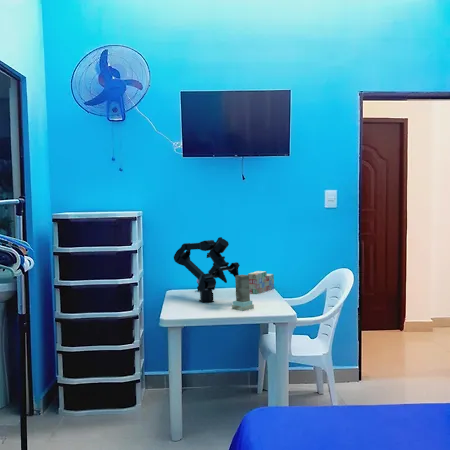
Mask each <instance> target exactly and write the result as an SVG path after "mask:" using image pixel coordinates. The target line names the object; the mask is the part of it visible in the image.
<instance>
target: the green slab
mask: <svg viewBox="0 0 450 450" xmlns="http://www.w3.org/2000/svg"><path fill="white" fill-rule="evenodd" d="M232 303H233V304H232V305H235V306H241V307H245V306H249V305H252V304H253V300H251V299H250V301H245V302H240V301H236V300H233V301H232Z"/></svg>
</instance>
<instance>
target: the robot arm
mask: <svg viewBox="0 0 450 450" xmlns="http://www.w3.org/2000/svg"><path fill="white" fill-rule="evenodd" d="M229 244H230V243H229V242H228V240H226V239H225V238H223V237H217V240H216V241H215V240H214V239H207V240H202V241H199V242H192V243H191V242H186V243H183V244H182V245H181V246H180V247H179V248H178V249H177V250H176V251H175V253H174V255H173V260H174V263H176V264H178V265H181V266H184V267H185V268H186V269H187V270H188V271H189V273H191V274H192V275H193V276H194V277H195V278H196V280H197V279H198V280H199V286H197V287H196V288H197V291H198V292H199V297H200V298H199V302H200V303H202V304H205V303H214V301H215V300H214V292H213V291H214V290H215V289H216V285H217V281H216V279H220V280H221V281H223V282H224V283H225V284H227V283H228V280H227V278H226V275H225V273H224V272H225V271H228V273H229V274H230V275H233V277H234V278H235V276H237V275H240V274H239V268H240V263H239V262H237V261H236V262H235V261H234V262H231V263H229V262H228V261H226V260H225V259H226V256H223V255H222V254H223V253H224V252H225V251H226V250H227V248H228V246H229ZM192 250H200V251H203V252H207V251H208V252H207V254H206V259H207V258H208V259H211V261H212V267H211V268H210V269H209V270H208V271H207V273H205V272H204V271H203V270H202V269H200V267H198V266H197V265H196V263H194V262H193V261H192V260H191V257H190V256H191V252H192ZM229 264H230V265H229Z"/></svg>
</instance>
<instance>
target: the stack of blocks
mask: <svg viewBox="0 0 450 450" xmlns="http://www.w3.org/2000/svg"><path fill="white" fill-rule="evenodd" d="M247 275H249V290H250V295H259V294H262V293H265V292H268V291H270V290H273V289H275V277H274V276H275V275H274V273H267V271H265V270H264V271H262V270H256V271H254V272H252V271H251V272H250V273H247Z"/></svg>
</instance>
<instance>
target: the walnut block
mask: <svg viewBox="0 0 450 450" xmlns="http://www.w3.org/2000/svg"><path fill="white" fill-rule="evenodd" d="M234 278H235V279H234V280H235V281H234V282H235V301H240V302H245V301H250V300H251V297H250V296H251V294H250V290H249V275H248V274H239V275H237V276H235V277H234Z"/></svg>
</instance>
